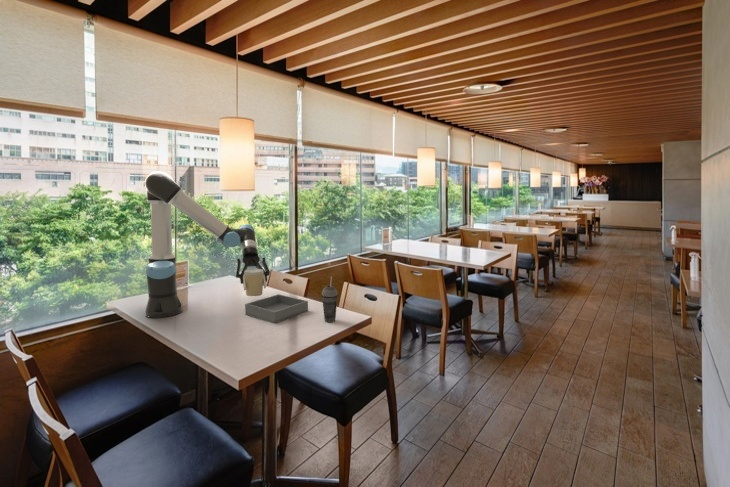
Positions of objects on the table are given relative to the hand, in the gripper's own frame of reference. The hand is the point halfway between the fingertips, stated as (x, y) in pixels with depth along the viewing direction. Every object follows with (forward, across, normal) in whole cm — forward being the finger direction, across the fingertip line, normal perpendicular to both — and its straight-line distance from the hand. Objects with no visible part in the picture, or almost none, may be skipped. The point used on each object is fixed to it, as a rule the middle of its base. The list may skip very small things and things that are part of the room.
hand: (255, 287), depth 182 cm
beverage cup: (+31, -26, +18) cm, 44 cm away
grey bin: (+17, -8, +4) cm, 19 cm away
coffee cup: (+1, 0, -5) cm, 5 cm away
